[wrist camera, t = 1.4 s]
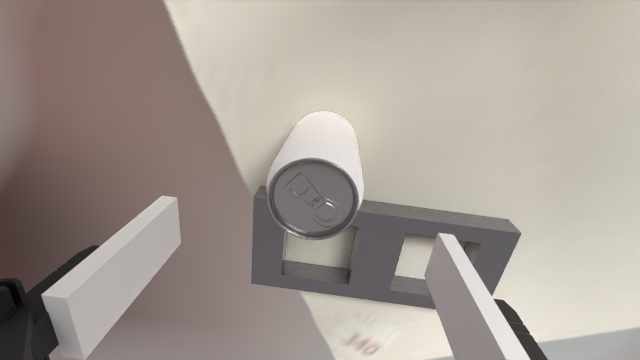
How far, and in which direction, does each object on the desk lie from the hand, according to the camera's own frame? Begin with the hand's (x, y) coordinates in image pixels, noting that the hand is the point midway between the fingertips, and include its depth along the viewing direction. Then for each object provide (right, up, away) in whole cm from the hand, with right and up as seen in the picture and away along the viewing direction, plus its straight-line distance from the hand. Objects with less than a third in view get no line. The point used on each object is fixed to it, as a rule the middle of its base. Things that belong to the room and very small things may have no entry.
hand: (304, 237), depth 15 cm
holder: (+7, -4, +18) cm, 20 cm away
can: (+1, +6, +14) cm, 16 cm away
